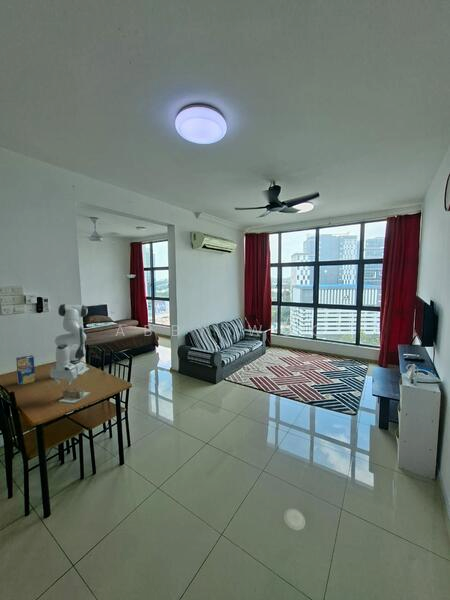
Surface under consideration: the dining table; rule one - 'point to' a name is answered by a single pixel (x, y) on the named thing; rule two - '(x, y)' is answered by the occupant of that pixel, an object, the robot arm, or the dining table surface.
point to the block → (73, 393)
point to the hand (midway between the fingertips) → (63, 384)
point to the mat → (73, 400)
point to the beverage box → (25, 369)
